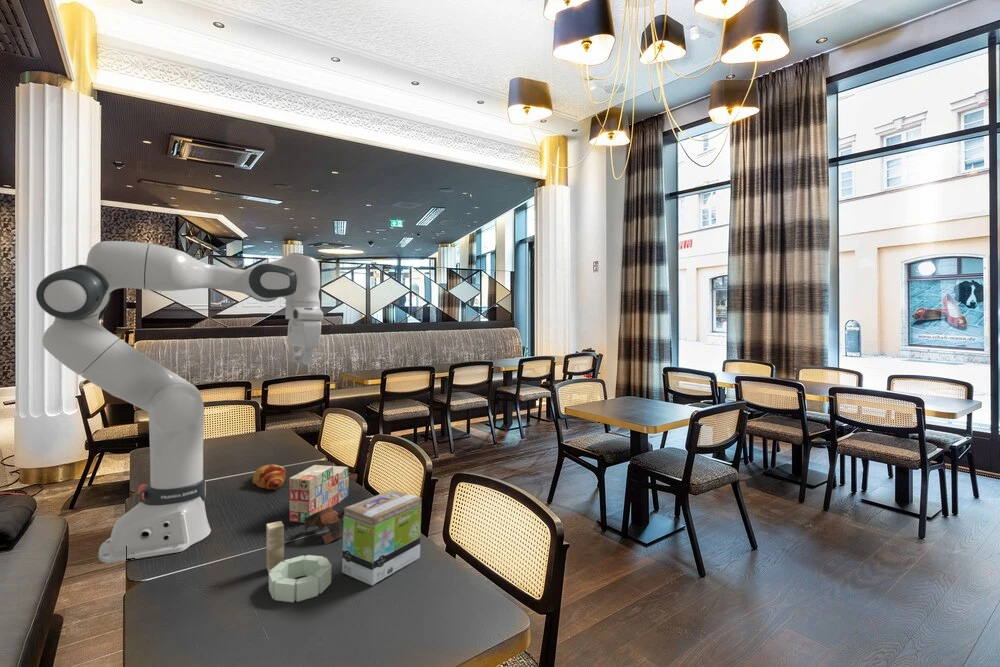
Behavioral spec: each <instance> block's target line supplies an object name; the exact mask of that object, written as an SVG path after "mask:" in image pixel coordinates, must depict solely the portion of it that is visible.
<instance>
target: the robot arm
mask: <svg viewBox="0 0 1000 667" xmlns="http://www.w3.org/2000/svg"><path fill="white" fill-rule="evenodd" d="M124 288H125V289H135V290H136V289H137V290H146V291H158V292H171V291H173V292H174V291H186V290H195V289H212V290H220V291H227V292H235V293H236V292H237V293H241V294H245V295H247V296H249V297H250V298H252V299H253V300H257V301H258V302H262V303H263V302H265V303H268V302H273V301H276V300H277V299H279V298H283V299H285V315H284V317H285V320H288V323H287V324H288V325H287V339H286V340H287V345H289V346H292V354H293V361H294V362H295V363H302V364H303V365H305V366H310V365H311V364H312V357H313V354H314V349H318V348H319V347H320V343H321V342H320V341H321V337H322V336H321V334H322V322H321V321H323V320H324V312H323V311H322V309H321V301H320V290H321V270H320V265H319V261H318V260H317V259H316V258H315V257H314V256H311V255H308V254H304V253H299V252H290V253H288V255H286V256H283V257H281V258H280V259H277V260H273V261H269V262H265V263H260V264H258V265H255V267H253V268H249V269H248V268H247V269H240V268H235V267H234V268H233V267H227V266H221V265H220V266H219V265H214V264H210V263H206V262H203V261H202V260H201V261H200V260H198V259H197V258H195V257H193V256H191V255H190V254H188V253H186V252H184V251H182V250H178V249H177V248H172V247H169V246H166V245H160V244H154V243H149V242H148V243H147V242H141V241H140V242H139V241H129V240H128V241H127V240H124V241H123V240H105V241H99V242H97V243H95V244H94V245H93V246H91V249H90V250H89V252H88V254H87V258H86V262H85V264H78V265H74V266H71V267H68V268H64V269H61V270H58V271H55V272H52V273H51V274H48V275H47V276H45V277H43V279H42V280H40V282H39V283H38V286H37V288H36V292H35V297H36V300H37V303H38V305H39V306H40V308H41V310H43V311H44V312H45V313H47V314H48V315H50V316H52V317H54V321H53V323H52V324H51V325H49V327H48V328H47V329H46V330H45V332H44V334H43V335H42V341H41V342H42V346H43V348H45V350H46V351H47V352H48V353H49V354H51V356H53V357H54V358H55V359H56V360H57V361H58V362H60V363H61V364H62V365H64V366H65V367H66V368H68V369H69V370H71V371H72V372H73V373H75V374H77V375H78V376H80V377H82V378H83V379H84V380H86V381H88V382H90V383H91V384H93V385H95V386H96V387H98V388H100V389H102V390H103V391H105V392H107V394H110V395H111V396H113V397H115V398H118V399H120V400H122V401H125V402H127V403H129V404H131V405H133V406H135V407H137V408H139V409H141V410H143V411H145V412H147V413H148V429H149V430H148V431H149V432H148V433H149V437H148V438H149V456H150V457H149V462H150V463H149V465H150V467H149V471H150V474H149V475H150V477H149V479H150V482H149V484H147V483H142V484H140V485H139V486H138V488H137V489H138V490H137V491H138V493H139V501H140V502H138V503H137V504H136V505H135V506H133V507H132V508H131V509H130V510H128V511H127V512H126V513H124V514H123V515H121V516H120V517H119V518H118V519H117V521H116V522H115V524H114V525H113V527H112V530H111V534H110V537H109V538H107V539H106V540H105V541H103V543H102V544H100V547H99V549H98V553H97V554H98V555H97V557H98V559H99V561H100V562H102V563H104V564H111V563H112V564H113V563H117V562H118V563H119V562H123V561H127V560H126V546H127V559H128V558H129V559H130V558H135V559H134V560H136V559H144V558H150V557H156V556H161V555H169V554H174V553H179V552H183V551H185V550H186V549H188V548H190V546H192V545H194V544H196V543H198V542H200V541H202V540H204V539H205V538H207V537H208V536H209V535H210V534H211V532H212V529H211V527H210V523H209V520H208V517H207V512H206V505H205V500H206V496H207V494H206V493H207V486H206V485H207V484H206V483H207V482H206V479H205V477H204V428H205V427H204V426H205V425H204V422H205V420H204V419H205V418H204V417H205V405H204V404H205V403H204V401H203V397H202V395H201V392H200V390H199V389H198V388H197V387H196V386H195V385H194V384H192V383H191V382H190V381H188V380H186V379H185V378H183V377H181V376H180V375H178V374H176V373H175V372H174V371H172V370H170V369H168V368H167V367H165V366H163V365H162V364H160V363H159V362H157V361H155V360H153V359H151V358H150V357H149V356H147V355H145V354H144V353H143V352H141V351H140V350H138V349H136V348H135V347H134V346H132V345H130V344H129V343H127V342H126V341H125V340H124V339H121V338H120V337H118V336H117V335H115V334H114V333H112V332H110V331H109V330H108V329H107V328H106V327H104V326H103V325H102V324H101V322H100V321H101V319H102V317H103V315H104V314H105V312H106V310H107V309H108V307H109V305H110V302H111V300H112V292H113V291H116V290H118V289H124ZM302 348H303V349H302ZM302 350H303V356H302Z"/></svg>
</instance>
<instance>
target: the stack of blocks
mask: <svg viewBox="0 0 1000 667" xmlns="http://www.w3.org/2000/svg"><path fill="white" fill-rule="evenodd" d="M288 478H289V480H288V482H289V483H288V484H289V489H288V500H289V502H288V503H289V506H288V509H289V510H288V516H289V518H288V520H289V522H292V523H301V524H305V521H304V519H305V518H307V517H308V516H310V515H312V514H314V513H316V512H319V511H321V510H323V509H325V508H327V507H330V506H332V508H333V507H334V506H336V505H337V504H338V503H341V502H342V501H343V500H344V499H346V498H347V497H349V488H350V487H349V483H350V482H349V480H350V479H349V467H348V466H340V465H339V466H336V465H320V464H314V465H312V466H309V467H307V468H305V469H304V470H303V471H300V472H298V473H297V474H295V475H293V476H291V477H288Z"/></svg>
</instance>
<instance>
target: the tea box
mask: <svg viewBox="0 0 1000 667" xmlns="http://www.w3.org/2000/svg"><path fill="white" fill-rule="evenodd" d="M343 509H344V515H343V521H344V525H343V536H342V560H341V561H342V564H341V572H342V573H343V574H345V575H347V576H349V577H351V578H354V579H356V580H357V581H360V582H362V583H365V584H366V585H370V586H374V585H376V584H377V583H378V582H380V581H383V580H384V579H385V578H387V577H389V576H391V575H393V574H394V573H396V572H398V571H399V570H401V569H403V568H405V567H406V566H408V565H410V564H411V563H413V562H415V561H417V560H419V559H420V558H421V536H422V535H421V531H422V530H421V529H422V528H421V527H422V526H421V525H422V497H420V496H417V495H413V494H410V493H406V492H402V491H399V490H395V489H390V490H387V491H384V492H382V493H380V494H376V495H374V496H372V497H369V498H367V499H364V500H362V501H359V502H356V503H353V504H351V505H348V506H345V507H344V508H343Z"/></svg>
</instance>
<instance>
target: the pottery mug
mask: <svg viewBox="0 0 1000 667" xmlns="http://www.w3.org/2000/svg"><path fill="white" fill-rule="evenodd" d="M343 518H344V508H341V509H340V510H334V509H333V507H332V506H330V507H327V508H325V509H323V510H321V511H319V512H316V513H314V514H312V515H310V516H308V517H307V518H305V519H304V521H305V523H304V526H303V529H304V531H305V532H306V531H307V529H309V528H313V527H314V528H315V527H317V528H318V529H320V530H323V529H325V528H326V527H327V528H328V530H329V531H328V532H327V533H325V534H323V535H322V536H321V538H322V540H323V542H324V545H327V544H329V543H331V542H333V541H336V540H339V539H341V538H343V525H344V519H343Z"/></svg>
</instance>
